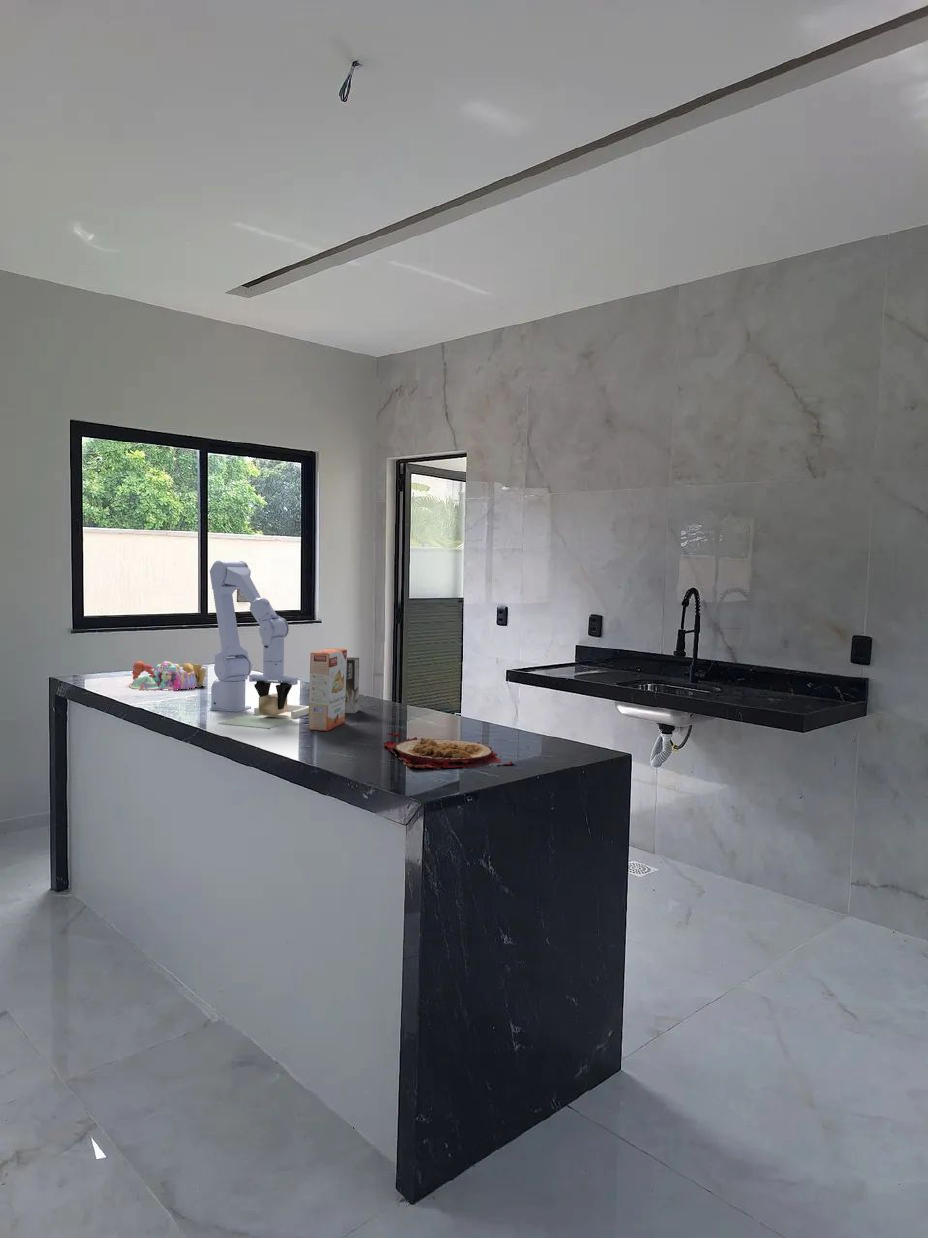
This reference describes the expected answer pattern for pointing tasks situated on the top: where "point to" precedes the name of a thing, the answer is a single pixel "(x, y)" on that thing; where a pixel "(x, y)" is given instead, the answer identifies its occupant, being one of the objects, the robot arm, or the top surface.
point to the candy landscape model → (167, 676)
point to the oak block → (270, 705)
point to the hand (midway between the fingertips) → (272, 708)
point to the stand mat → (254, 722)
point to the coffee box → (352, 685)
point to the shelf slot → (289, 711)
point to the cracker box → (327, 689)
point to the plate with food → (442, 753)
